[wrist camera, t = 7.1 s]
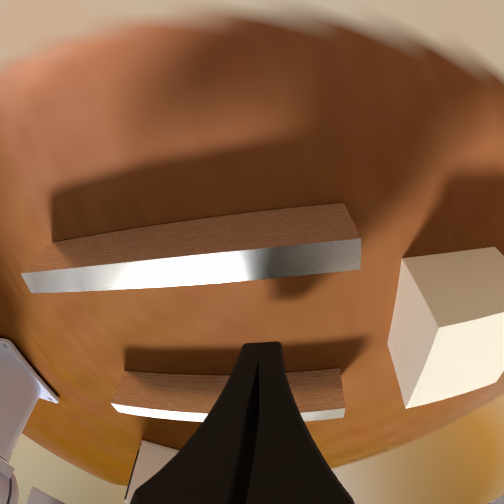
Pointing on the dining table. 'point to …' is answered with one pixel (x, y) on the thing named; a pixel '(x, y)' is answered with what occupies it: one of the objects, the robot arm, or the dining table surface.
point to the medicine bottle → (147, 464)
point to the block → (448, 324)
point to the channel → (204, 272)
